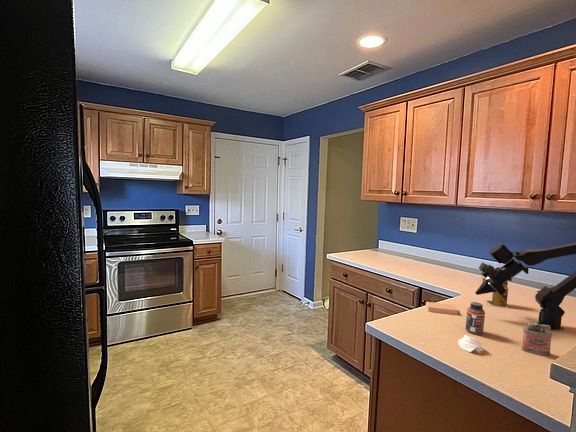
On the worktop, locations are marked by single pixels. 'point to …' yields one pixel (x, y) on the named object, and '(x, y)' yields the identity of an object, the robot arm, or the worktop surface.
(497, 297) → the condiment
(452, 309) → the tile
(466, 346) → the whipped cream
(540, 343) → the lighter
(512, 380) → the worktop surface
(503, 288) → the robot arm
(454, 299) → the worktop surface
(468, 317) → the supplement bottle
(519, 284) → the worktop surface
